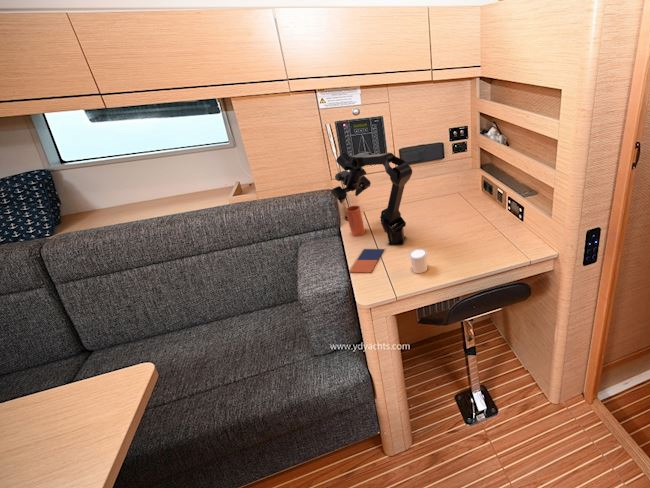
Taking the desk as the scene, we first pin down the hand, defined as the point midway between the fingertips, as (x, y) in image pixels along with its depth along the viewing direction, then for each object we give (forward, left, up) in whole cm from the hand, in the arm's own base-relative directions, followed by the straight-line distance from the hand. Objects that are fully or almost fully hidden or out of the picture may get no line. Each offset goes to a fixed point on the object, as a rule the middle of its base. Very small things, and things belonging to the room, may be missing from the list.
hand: (348, 199), depth 162 cm
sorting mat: (-18, +29, -15) cm, 37 cm away
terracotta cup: (-4, +6, -15) cm, 17 cm away
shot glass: (-41, +34, -15) cm, 56 cm away
